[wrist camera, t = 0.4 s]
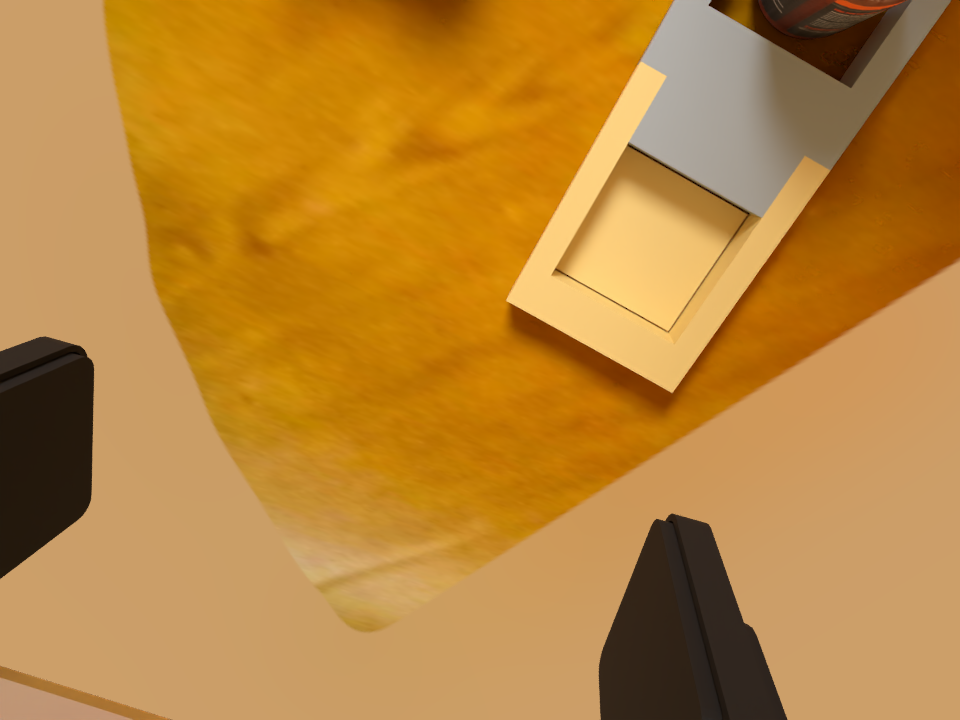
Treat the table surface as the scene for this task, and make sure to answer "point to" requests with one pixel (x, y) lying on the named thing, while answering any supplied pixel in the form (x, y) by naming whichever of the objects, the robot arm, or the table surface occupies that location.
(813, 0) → the supplement bottle
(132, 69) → the table surface
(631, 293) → the beige and grey tray
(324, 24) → the table surface
